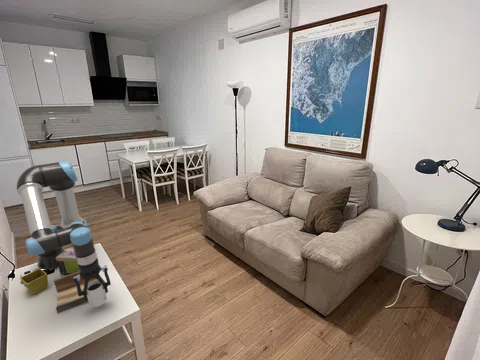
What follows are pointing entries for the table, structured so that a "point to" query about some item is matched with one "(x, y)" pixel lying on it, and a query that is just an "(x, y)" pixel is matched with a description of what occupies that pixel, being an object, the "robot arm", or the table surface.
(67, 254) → the tea box
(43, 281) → the flower pot
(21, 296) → the table surface
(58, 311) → the wooden wall shelf
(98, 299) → the white paper cup
